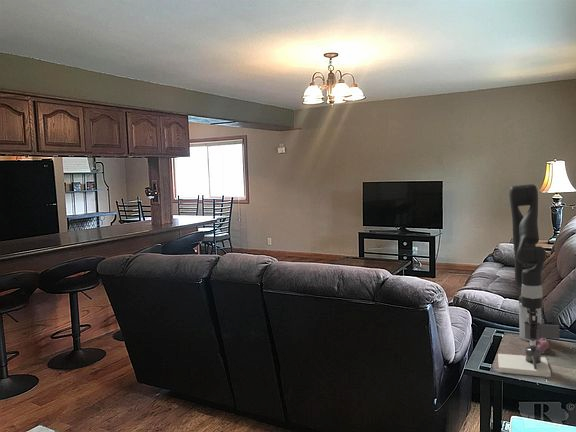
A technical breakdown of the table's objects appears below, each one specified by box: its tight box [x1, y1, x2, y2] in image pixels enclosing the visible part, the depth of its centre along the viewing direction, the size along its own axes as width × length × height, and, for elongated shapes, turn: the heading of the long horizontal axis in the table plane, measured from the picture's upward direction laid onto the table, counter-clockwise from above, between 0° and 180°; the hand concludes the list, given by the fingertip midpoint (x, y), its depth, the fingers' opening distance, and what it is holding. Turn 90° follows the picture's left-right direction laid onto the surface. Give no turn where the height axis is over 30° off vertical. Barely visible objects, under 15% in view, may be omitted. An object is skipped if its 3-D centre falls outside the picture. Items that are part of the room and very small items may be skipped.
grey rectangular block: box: [524, 321, 560, 340], centre depth 185 cm, size 6×12×6 cm, turn 67°
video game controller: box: [528, 338, 550, 353], centre depth 204 cm, size 10×5×7 cm, turn 169°
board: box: [497, 353, 552, 378], centre depth 187 cm, size 15×18×2 cm
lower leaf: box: [524, 340, 542, 369], centre depth 184 cm, size 11×6×11 cm, turn 157°
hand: (532, 335), depth 187 cm, fingers closed on grey rectangular block, 5 cm apart
